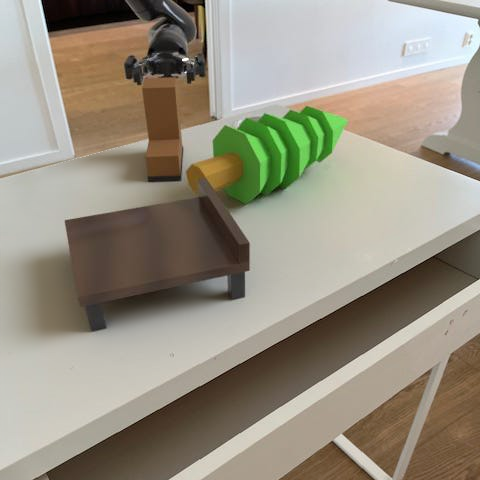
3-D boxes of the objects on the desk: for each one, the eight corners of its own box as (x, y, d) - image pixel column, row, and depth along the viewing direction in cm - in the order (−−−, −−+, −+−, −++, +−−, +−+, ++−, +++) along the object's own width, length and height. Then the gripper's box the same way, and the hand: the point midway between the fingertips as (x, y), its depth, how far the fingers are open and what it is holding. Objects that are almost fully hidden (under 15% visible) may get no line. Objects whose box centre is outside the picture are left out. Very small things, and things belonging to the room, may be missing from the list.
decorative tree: (178, 121, 66) (338, 67, 79) (171, 184, 76) (314, 127, 89) (231, 179, 63) (388, 113, 76) (216, 238, 72) (358, 170, 86)
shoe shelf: (88, 335, 53) (72, 278, 49) (73, 254, 65) (59, 201, 60) (249, 298, 58) (249, 242, 53) (209, 228, 69) (206, 177, 64)
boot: (147, 181, 80) (136, 102, 72) (153, 151, 89) (144, 77, 81) (181, 180, 80) (173, 101, 72) (183, 150, 89) (177, 77, 81)
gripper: (128, 32, 96) (117, 55, 84) (204, 30, 97) (204, 53, 84) (134, 75, 101) (125, 102, 89) (206, 73, 102) (206, 100, 89)
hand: (163, 78), depth 87 cm, fingers open, 8 cm apart
